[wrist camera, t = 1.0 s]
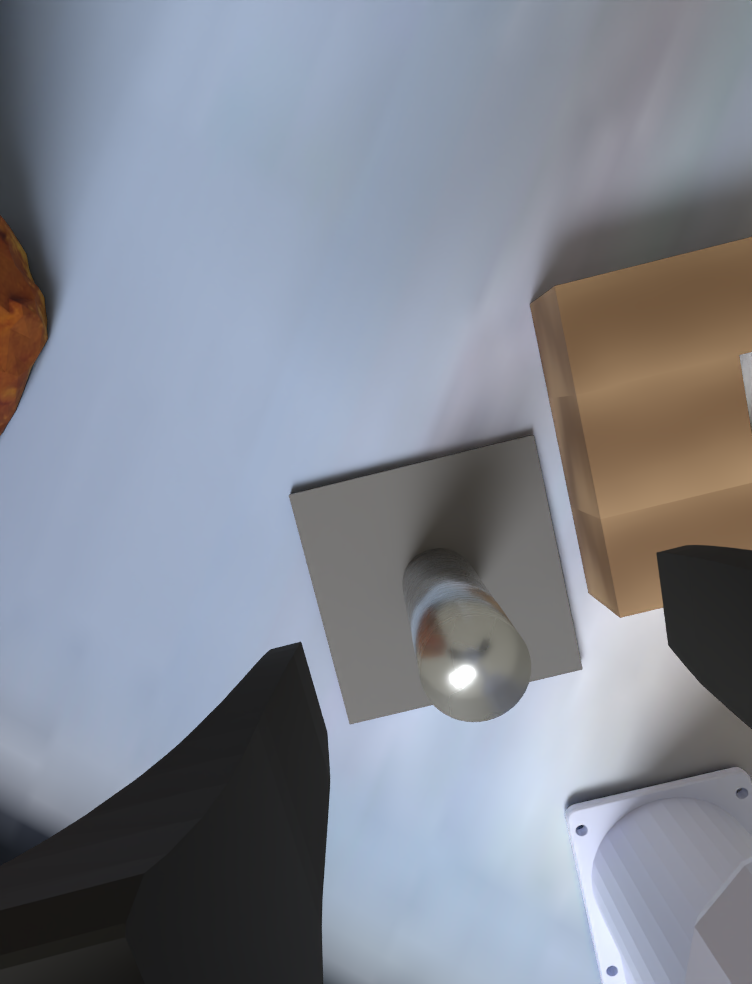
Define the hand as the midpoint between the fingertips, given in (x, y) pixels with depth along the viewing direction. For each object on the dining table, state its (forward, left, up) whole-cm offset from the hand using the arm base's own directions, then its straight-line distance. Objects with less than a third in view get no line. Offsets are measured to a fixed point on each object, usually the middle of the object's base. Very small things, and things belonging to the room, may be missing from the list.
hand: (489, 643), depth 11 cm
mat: (-2, 0, -12) cm, 13 cm away
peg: (-2, 0, -12) cm, 12 cm away
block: (+2, -14, -12) cm, 19 cm away
